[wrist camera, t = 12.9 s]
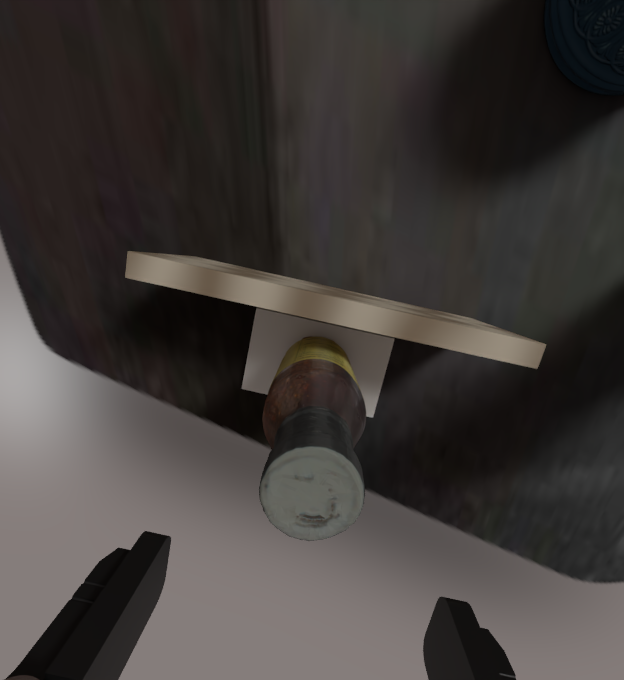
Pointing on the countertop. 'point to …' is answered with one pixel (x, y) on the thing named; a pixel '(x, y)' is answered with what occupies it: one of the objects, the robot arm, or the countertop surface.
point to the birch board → (334, 306)
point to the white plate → (285, 330)
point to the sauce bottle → (313, 442)
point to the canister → (588, 42)
